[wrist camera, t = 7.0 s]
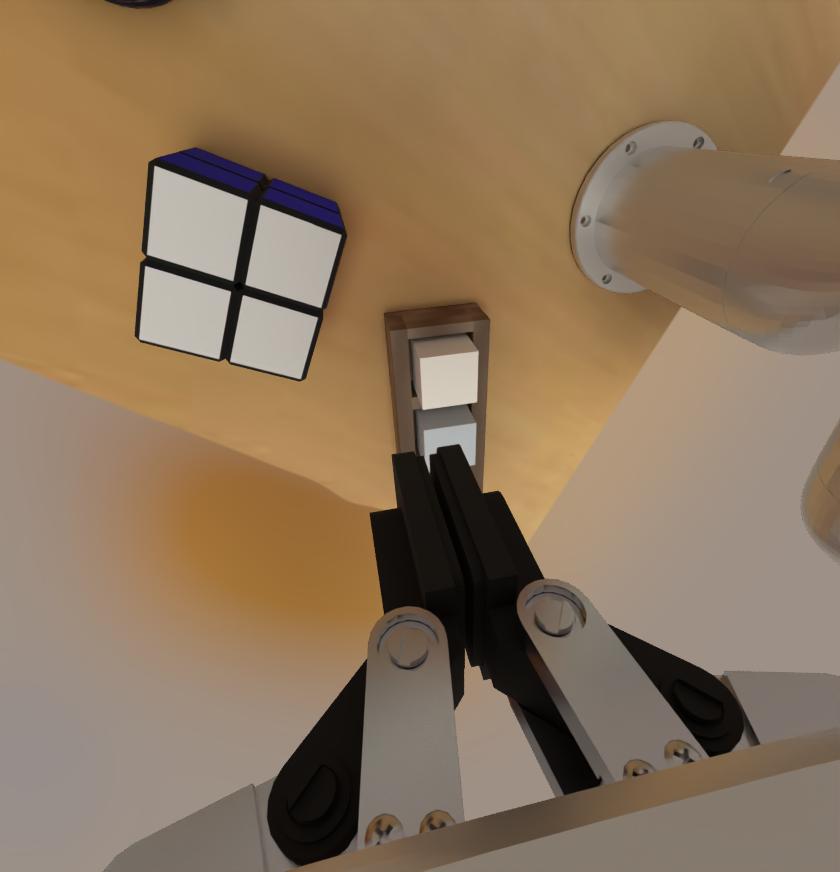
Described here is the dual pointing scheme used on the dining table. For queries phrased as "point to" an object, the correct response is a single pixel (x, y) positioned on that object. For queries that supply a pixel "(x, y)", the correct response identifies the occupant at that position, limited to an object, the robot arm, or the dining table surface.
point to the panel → (401, 369)
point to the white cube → (445, 370)
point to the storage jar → (139, 3)
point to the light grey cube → (446, 430)
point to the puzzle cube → (235, 264)
